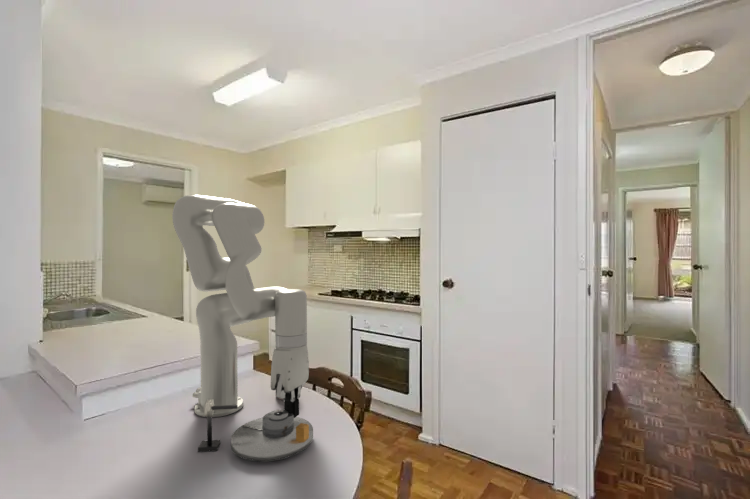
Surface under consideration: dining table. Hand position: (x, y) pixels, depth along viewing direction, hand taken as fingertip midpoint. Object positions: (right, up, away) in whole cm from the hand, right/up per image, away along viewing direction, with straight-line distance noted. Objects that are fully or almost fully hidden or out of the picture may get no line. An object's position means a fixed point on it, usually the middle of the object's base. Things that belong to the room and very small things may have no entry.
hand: (291, 415), depth 95 cm
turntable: (-3, -3, -6) cm, 7 cm away
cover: (-2, -1, -5) cm, 5 cm away
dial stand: (-15, -4, -8) cm, 17 cm away
